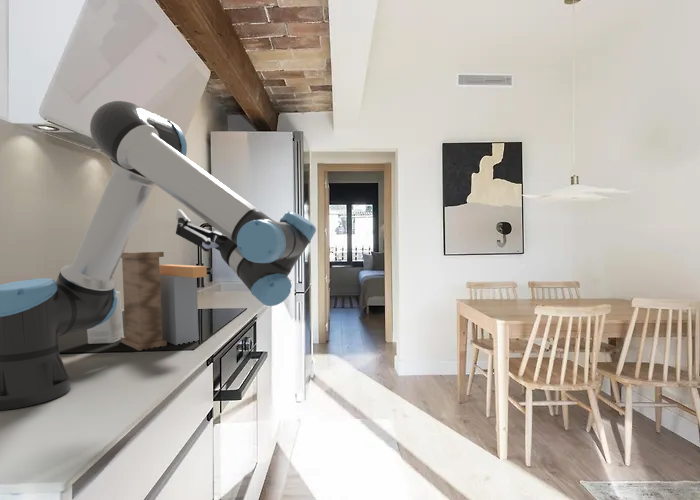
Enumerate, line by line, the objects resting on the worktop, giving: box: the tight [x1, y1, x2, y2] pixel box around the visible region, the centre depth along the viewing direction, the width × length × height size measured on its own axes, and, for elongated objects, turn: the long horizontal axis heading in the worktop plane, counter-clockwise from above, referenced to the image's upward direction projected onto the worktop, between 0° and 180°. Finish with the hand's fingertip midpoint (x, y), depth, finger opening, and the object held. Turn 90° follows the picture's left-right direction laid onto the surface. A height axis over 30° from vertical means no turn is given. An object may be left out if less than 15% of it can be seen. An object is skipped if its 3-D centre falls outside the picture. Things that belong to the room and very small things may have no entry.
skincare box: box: [86, 290, 125, 345], centre depth 137 cm, size 8×7×16 cm
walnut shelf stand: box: [120, 251, 168, 351], centre depth 133 cm, size 8×16×28 cm, turn 44°
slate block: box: [160, 274, 200, 346], centre depth 138 cm, size 7×16×20 cm, turn 44°
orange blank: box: [159, 263, 208, 278], centre depth 134 cm, size 4×26×3 cm, turn 44°
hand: (204, 214), depth 112 cm, fingers open, 13 cm apart
